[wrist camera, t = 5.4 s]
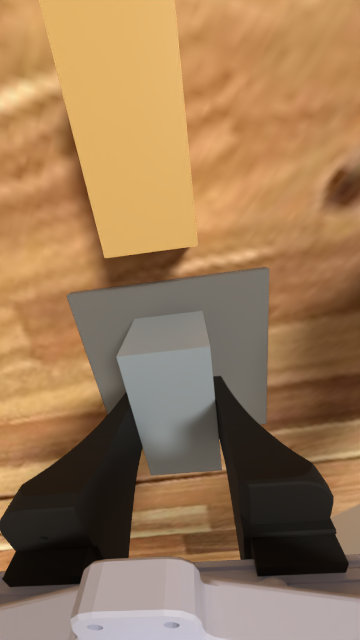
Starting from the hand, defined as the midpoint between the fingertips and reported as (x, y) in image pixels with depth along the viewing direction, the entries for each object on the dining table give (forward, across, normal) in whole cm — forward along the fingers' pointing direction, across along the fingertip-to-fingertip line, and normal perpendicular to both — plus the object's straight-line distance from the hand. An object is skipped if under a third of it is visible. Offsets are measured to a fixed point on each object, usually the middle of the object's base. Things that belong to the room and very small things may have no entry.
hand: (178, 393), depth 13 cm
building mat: (+3, 0, 0) cm, 3 cm away
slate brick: (+2, 0, 0) cm, 2 cm away
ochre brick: (+3, 0, -12) cm, 13 cm away
